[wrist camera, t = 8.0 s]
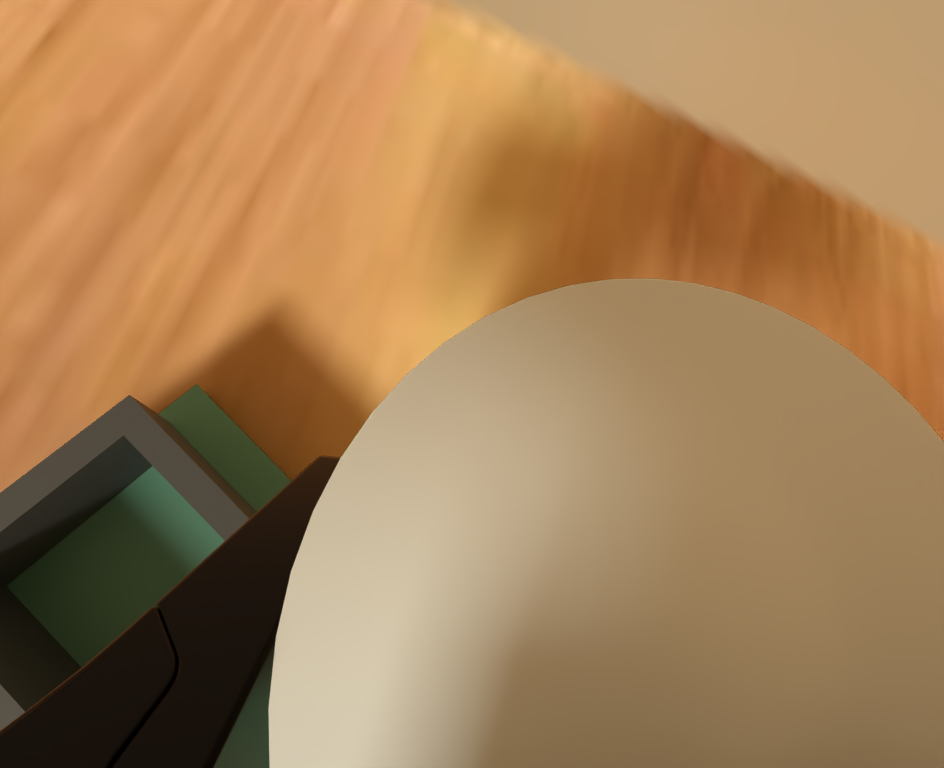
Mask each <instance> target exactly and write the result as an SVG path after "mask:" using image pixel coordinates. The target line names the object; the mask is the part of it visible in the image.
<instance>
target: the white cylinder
mask: <svg viewBox="0 0 944 768" xmlns="http://www.w3.org/2000/svg"><path fill="white" fill-rule="evenodd" d="M269 763H270V768H944V441H943V440H942V439H941V438H940V437H939V436H938V434H937V433H936V432H935V431H934V430H933V428H932V427H931V426H930V425H929V424H928V423H927V421H926V420H925V419H924V418H923V417H922V416H921V414H920V413H919V412H918V411H917V410H916V409H915V408H914V407H913V406H912V405H911V404H910V403H909V402H908V401H907V400H906V399H905V398H904V397H903V396H902V395H901V394H900V393H899V392H898V391H897V390H896V389H895V388H894V387H893V386H892V385H891V384H890V383H889V382H888V381H887V380H886V379H885V378H883V377H882V376H881V375H880V374H878V373H877V372H876V371H875V370H873V369H872V368H871V367H870V366H868V365H867V364H866V363H865V362H863V361H862V360H861V359H860V358H858V357H857V356H856V355H855V354H853V353H852V352H851V351H850V350H848V349H847V348H845V347H844V346H842V345H841V344H839V343H837V342H836V341H834V340H833V339H831V338H830V337H828V336H827V335H825V334H823V333H822V332H820V331H819V330H817V329H816V328H814V327H813V326H811V325H809V324H807V323H805V322H803V321H801V320H799V319H797V318H795V317H793V316H791V315H789V314H787V313H785V312H783V311H781V310H779V309H777V308H775V307H772V306H770V305H767V304H764V303H762V302H759V301H756V300H753V299H751V298H748V297H745V296H742V295H740V294H737V293H734V292H730V291H726V290H722V289H717V288H713V287H709V286H705V285H701V284H696V283H690V282H681V281H672V280H663V279H654V278H641V279H607V280H601V281H594V282H588V283H581V284H575V285H568V286H565V287H561V288H558V289H555V290H551V291H548V292H544V293H541V294H538V295H534V296H531V297H528V298H525V299H523V300H521V301H518V302H516V303H514V304H512V305H509V306H507V307H505V308H503V309H501V310H498V311H496V312H494V313H492V314H490V315H487V316H485V317H484V318H482V319H480V320H479V321H477V322H476V323H474V324H473V325H471V326H469V327H468V328H466V329H465V330H463V331H461V332H460V333H458V334H457V335H455V336H453V337H452V338H450V339H449V340H447V341H446V342H444V343H443V344H442V345H441V346H440V347H438V348H437V349H436V350H435V351H434V352H432V353H431V354H430V355H429V356H428V357H426V358H425V359H424V360H423V361H422V362H421V363H419V364H418V365H417V366H416V367H415V368H413V369H412V370H411V371H410V372H409V373H407V375H406V376H405V377H404V378H403V379H402V380H401V381H400V382H399V383H398V384H397V386H396V387H395V388H394V389H393V390H392V391H391V392H390V393H389V394H388V395H387V397H386V398H385V399H384V400H383V401H382V402H381V403H380V404H379V405H378V407H377V408H376V409H375V410H374V411H373V412H372V413H371V415H370V416H369V418H368V419H367V421H366V422H365V423H364V425H363V426H362V428H361V429H360V431H359V432H358V434H357V435H356V436H355V438H354V439H353V441H352V442H351V444H350V445H349V447H348V448H347V449H346V451H345V452H344V454H343V455H342V457H341V458H340V460H339V462H338V464H337V466H336V468H335V470H334V472H333V474H332V475H331V477H330V479H329V481H328V483H327V485H326V487H325V489H324V491H323V493H322V495H321V497H320V499H319V501H318V503H317V505H316V507H315V508H314V510H313V513H312V515H311V518H310V521H309V524H308V526H307V529H306V532H305V535H304V537H303V540H302V543H301V546H300V548H299V551H298V554H297V556H296V559H295V562H294V565H293V567H292V570H291V574H290V578H289V583H288V587H287V591H286V596H285V600H284V604H283V609H282V613H281V617H280V622H279V626H278V630H277V635H276V641H275V651H274V660H273V670H272V679H271V689H270V699H269Z"/></svg>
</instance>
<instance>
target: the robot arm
mask: <svg viewBox="0 0 944 768" xmlns="http://www.w3.org/2000/svg"><path fill="white" fill-rule="evenodd" d="M340 458H341V457H332V456H319V457H318V458H316V459H315V460H314V461H313V462H312V463H311V464H310V465H309V466H307V467H306V468H305V469H304V470H303V471H302V472H301V473H300V474H299V475H297V476H296V477H295V478H294V479H293V480H292V481H291V482H290V483H289V484H288V485H286V486H285V487H284V488H283V489H282V490H281V491H280V492H279V493H278V494H276V495H275V496H274V497H273V498H272V499H271V500H270V501H269V502H268V503H266V504H265V505H264V506H263V507H262V508H261V509H260V510H259V511H258V512H256V513H255V514H254V515H253V516H252V517H251V518H250V519H249V520H248V521H247V522H245V523H244V524H243V525H242V526H241V527H240V528H239V529H238V530H237V531H235V532H234V533H233V534H232V535H231V536H230V537H229V538H228V539H227V540H225V541H224V542H223V543H222V544H221V545H220V546H219V547H218V548H217V549H215V550H214V551H213V552H212V553H211V554H210V555H209V556H208V557H207V558H205V559H204V560H203V561H202V562H201V563H200V564H199V565H198V566H197V567H196V568H194V569H193V570H192V571H191V572H190V573H189V574H188V575H187V576H186V577H184V578H183V579H182V580H181V581H180V582H179V583H178V584H177V585H176V586H174V587H173V588H172V589H171V590H170V591H169V592H168V593H167V594H166V595H164V596H163V597H162V598H161V599H160V600H159V601H158V602H157V603H156V607H151V608H150V609H148V610H147V611H146V612H145V613H144V614H143V615H142V616H141V617H140V618H139V619H137V620H136V621H135V622H134V623H133V624H132V625H131V626H130V627H129V628H127V629H126V630H125V631H124V632H123V633H122V634H121V635H119V636H118V637H117V638H116V639H115V640H114V641H112V642H111V643H110V644H109V645H108V646H107V647H105V648H104V649H103V650H102V651H101V652H100V653H98V654H97V655H96V656H95V657H94V658H93V659H91V660H90V661H89V662H88V663H87V664H86V665H84V666H83V667H82V668H81V669H79V670H78V671H77V672H76V673H74V674H73V675H72V676H70V677H69V678H68V679H67V680H65V681H64V682H63V683H62V684H60V685H59V686H58V687H56V688H55V689H54V690H53V691H51V692H50V693H49V694H48V695H46V696H45V697H44V698H42V699H41V700H40V701H39V702H37V703H36V704H35V705H33V706H32V707H31V708H30V709H28V710H27V711H26V712H24V713H23V714H22V715H20V716H19V717H18V718H16V719H15V720H14V721H12V722H11V723H10V724H9V725H7V726H6V727H5V728H3V729H2V730H1V731H0V768H270V763H269V699H270V689H271V679H272V670H273V660H274V651H275V641H276V635H277V630H278V626H279V622H280V617H281V613H282V609H283V604H284V600H285V596H286V591H287V587H288V583H289V578H290V574H291V570H292V567H293V565H294V562H295V559H296V556H297V554H298V551H299V548H300V546H301V543H302V540H303V537H304V535H305V532H306V529H307V526H308V524H309V521H310V518H311V515H312V513H313V510H314V508H315V507H316V505H317V503H318V501H319V499H320V497H321V495H322V493H323V491H324V489H325V487H326V485H327V483H328V481H329V479H330V477H331V475H332V474H333V472H334V470H335V468H336V466H337V464H338V462H339V460H340Z"/></svg>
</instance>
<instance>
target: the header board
mask: <svg viewBox="0 0 944 768" xmlns="http://www.w3.org/2000/svg"><path fill="white" fill-rule="evenodd" d="M290 482H291V480H290V479H289V478H288V477H287V476H286V475H285V474H284V473H283V472H282V471H281V470H280V469H279V468H278V467H277V466H276V465H275V464H274V463H273V461H272V460H271V459H270V458H269V457H268V456H267V455H266V454H265V453H264V452H263V451H262V450H261V449H260V448H259V447H258V446H257V445H256V444H255V443H254V442H253V441H252V440H251V439H250V438H249V437H248V436H247V435H246V434H245V433H244V432H243V431H242V430H241V429H240V428H239V427H238V426H237V425H236V424H235V423H234V422H233V421H232V420H231V419H230V418H229V417H228V416H227V415H226V414H225V412H224V411H223V410H222V409H221V408H220V407H219V406H218V405H217V404H216V403H215V402H214V401H213V400H212V399H211V398H210V397H209V396H208V395H207V394H206V393H205V392H204V391H203V390H202V389H201V388H200V387H199V386H198V385H197V384H196V385H195V386H193V387H192V388H191V389H190V390H188V391H187V392H186V393H184V394H183V395H182V396H181V397H179V398H178V399H177V400H176V401H174V402H173V403H172V404H171V405H169V406H168V407H167V408H165V409H164V410H163V411H162V412H160V413H159V414H157V413H155V412H154V411H152V410H151V409H149V408H148V407H147V406H145V405H144V404H142V403H141V402H139V401H138V400H136V399H135V398H133V397H132V396H130V395H129V396H127V397H126V398H125V399H123V400H122V401H121V402H119V403H118V404H117V405H116V406H114V407H113V408H112V409H110V410H109V411H108V412H106V413H105V414H104V415H102V416H101V417H100V418H98V419H97V420H96V421H94V422H93V423H92V424H91V425H89V426H88V427H87V428H85V429H84V430H83V431H81V432H80V433H79V434H77V435H76V436H75V437H73V438H72V439H71V440H69V441H68V442H67V443H65V444H64V445H63V446H62V447H60V448H59V449H58V450H56V451H55V452H54V453H52V454H51V455H50V456H48V457H47V458H46V459H44V460H43V461H42V462H40V463H39V464H38V465H37V466H35V467H34V468H33V469H31V470H30V471H29V472H27V473H26V474H25V475H23V476H22V477H21V478H19V479H18V480H17V481H15V482H14V483H13V484H12V485H10V486H9V487H8V488H6V489H5V490H4V491H2V492H1V493H0V731H1V730H2V729H3V728H5V727H6V726H7V725H9V724H10V723H11V722H12V721H14V720H15V719H16V718H18V717H19V716H20V715H22V714H23V713H24V712H26V711H27V710H28V709H30V708H31V707H32V706H33V705H35V704H36V703H37V702H39V701H40V700H41V699H42V698H44V697H45V696H46V695H48V694H49V693H50V692H51V691H53V690H54V689H55V688H56V687H58V686H59V685H60V684H62V683H63V682H64V681H65V680H67V679H68V678H69V677H70V676H72V675H73V674H74V673H76V672H77V671H78V670H79V669H81V668H82V667H83V666H84V665H86V664H87V663H88V662H89V661H90V660H91V659H93V658H94V657H95V656H96V655H97V654H98V653H100V652H101V651H102V650H103V649H104V648H105V647H107V646H108V645H109V644H110V643H111V642H112V641H114V640H115V639H116V638H117V637H118V636H119V635H121V634H122V633H123V632H124V631H125V630H126V629H127V628H129V627H130V626H131V625H132V624H133V623H134V622H135V621H136V620H137V619H139V618H140V617H141V616H142V615H143V614H144V613H145V612H146V611H147V610H148V609H150V608H151V607H156V603H157V602H158V601H159V600H160V599H161V598H162V597H163V596H164V595H166V594H167V593H168V592H169V591H170V590H171V589H172V588H173V587H174V586H176V585H177V584H178V583H179V582H180V581H181V580H182V579H183V578H184V577H186V576H187V575H188V574H189V573H190V572H191V571H192V570H193V569H194V568H196V567H197V566H198V565H199V564H200V563H201V562H202V561H203V560H204V559H205V558H207V557H208V556H209V555H210V554H211V553H212V552H213V551H214V550H215V549H217V548H218V547H219V546H220V545H221V544H222V543H223V542H224V541H225V540H227V539H228V538H229V537H230V536H231V535H232V534H233V533H234V532H235V531H237V530H238V529H239V528H240V527H241V526H242V525H243V524H244V523H245V522H247V521H248V520H249V519H250V518H251V517H252V516H253V515H254V514H255V513H256V512H258V511H259V510H260V509H261V508H262V507H263V506H264V505H265V504H266V503H268V502H269V501H270V500H271V499H272V498H273V497H274V496H275V495H276V494H278V493H279V492H280V491H281V490H282V489H283V488H284V487H285V486H286V485H288V484H289V483H290Z"/></svg>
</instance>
